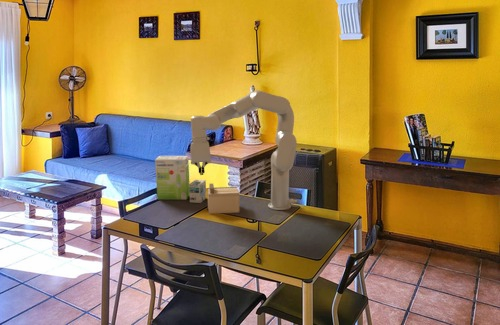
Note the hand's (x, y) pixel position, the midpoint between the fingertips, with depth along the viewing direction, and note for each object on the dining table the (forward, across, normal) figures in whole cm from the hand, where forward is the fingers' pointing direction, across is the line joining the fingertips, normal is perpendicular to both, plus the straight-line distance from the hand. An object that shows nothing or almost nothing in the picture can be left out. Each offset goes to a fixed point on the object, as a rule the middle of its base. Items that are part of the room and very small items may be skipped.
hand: (201, 174), depth 218 cm
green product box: (+19, +17, -25) cm, 36 cm away
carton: (+20, -10, 0) cm, 23 cm away
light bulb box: (+20, +3, -18) cm, 27 cm away
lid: (+11, -11, 0) cm, 15 cm away
